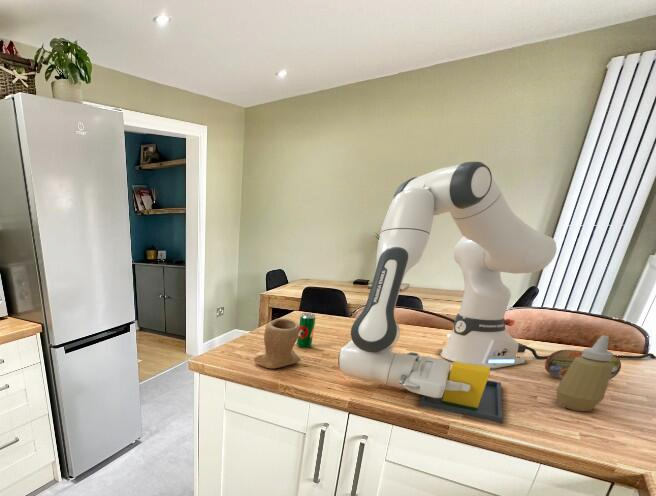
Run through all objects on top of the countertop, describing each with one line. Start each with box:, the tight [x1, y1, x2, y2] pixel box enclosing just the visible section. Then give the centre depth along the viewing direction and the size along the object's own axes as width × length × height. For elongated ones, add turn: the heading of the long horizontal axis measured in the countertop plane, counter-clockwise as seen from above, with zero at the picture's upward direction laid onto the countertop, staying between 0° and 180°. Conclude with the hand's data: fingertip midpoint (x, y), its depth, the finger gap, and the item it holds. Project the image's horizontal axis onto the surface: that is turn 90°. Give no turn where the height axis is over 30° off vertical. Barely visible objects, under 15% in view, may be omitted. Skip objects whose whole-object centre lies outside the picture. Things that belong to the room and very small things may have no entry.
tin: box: [544, 349, 622, 381], centre depth 111 cm, size 15×3×8 cm, turn 66°
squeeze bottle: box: [555, 335, 614, 412], centre depth 94 cm, size 8×8×18 cm
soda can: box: [296, 312, 317, 349], centre depth 144 cm, size 5×5×12 cm
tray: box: [419, 379, 503, 424], centre depth 103 cm, size 26×16×2 cm, turn 141°
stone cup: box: [253, 317, 301, 369], centre depth 126 cm, size 15×12×15 cm
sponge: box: [441, 361, 491, 411], centre depth 97 cm, size 4×7×10 cm, turn 51°
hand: (470, 383), depth 96 cm, fingers closed on sponge, 4 cm apart
